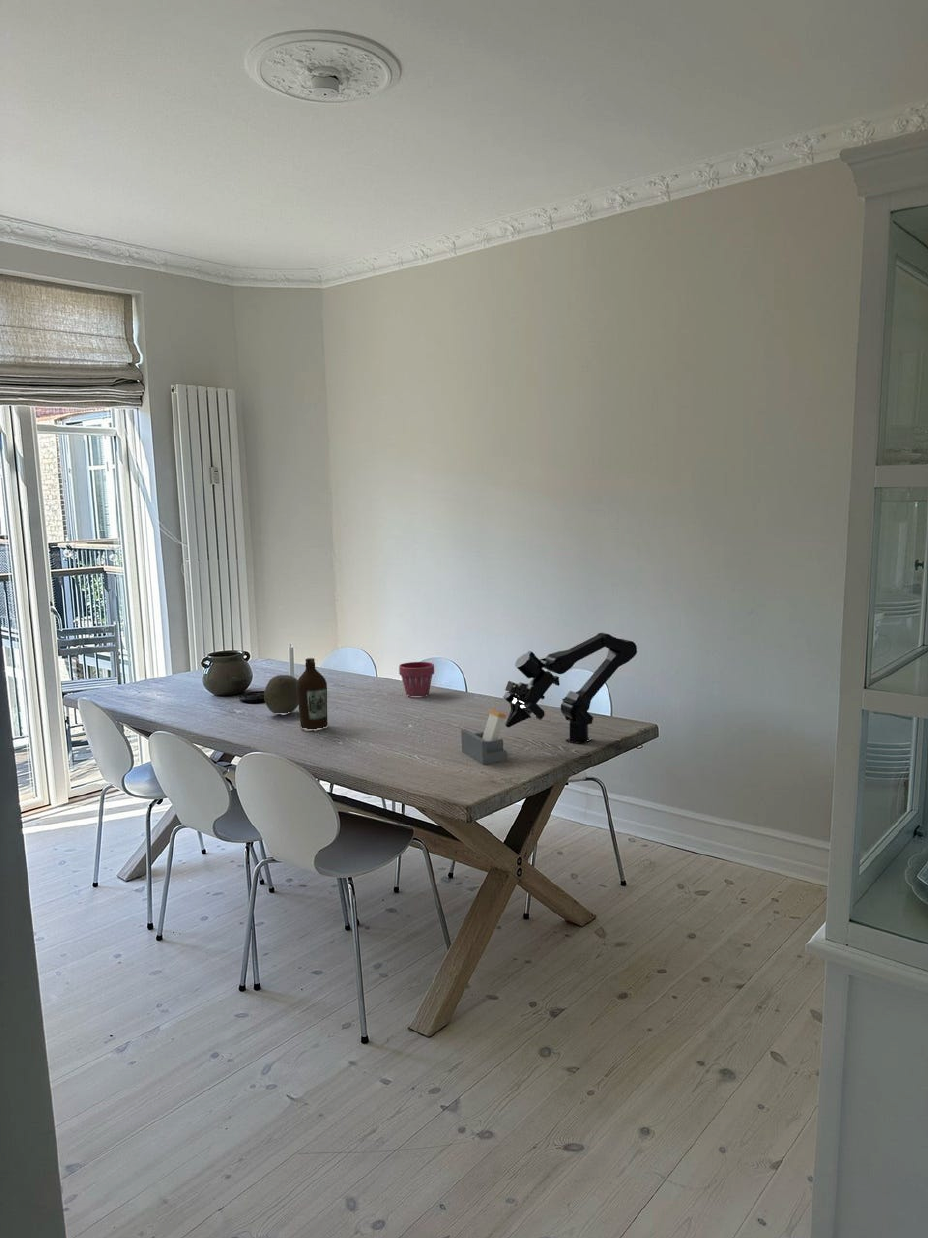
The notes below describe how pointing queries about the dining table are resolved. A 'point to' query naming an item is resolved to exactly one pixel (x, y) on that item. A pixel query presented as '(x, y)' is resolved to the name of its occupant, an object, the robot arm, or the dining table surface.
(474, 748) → the breaker box
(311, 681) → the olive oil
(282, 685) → the cantaloupe
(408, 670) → the plant pot
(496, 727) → the breaker lever
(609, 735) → the dining table surface
